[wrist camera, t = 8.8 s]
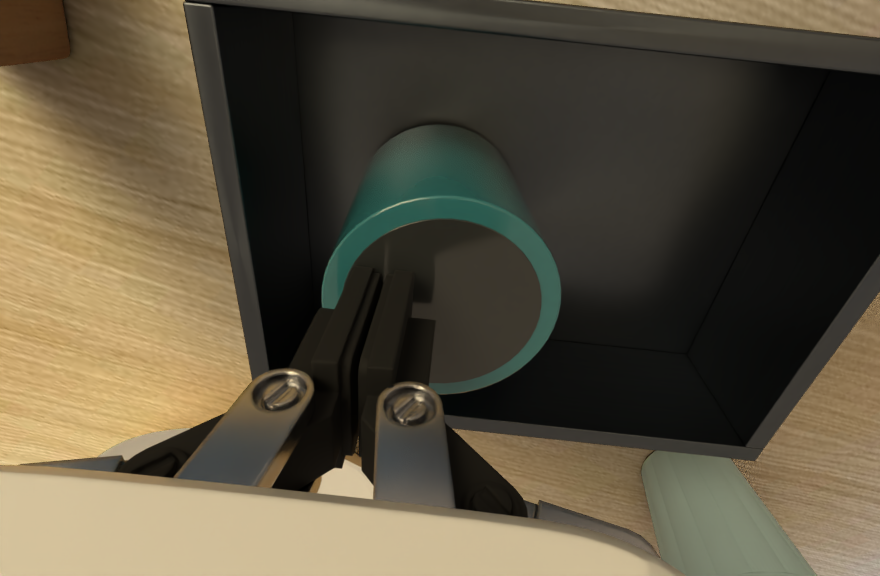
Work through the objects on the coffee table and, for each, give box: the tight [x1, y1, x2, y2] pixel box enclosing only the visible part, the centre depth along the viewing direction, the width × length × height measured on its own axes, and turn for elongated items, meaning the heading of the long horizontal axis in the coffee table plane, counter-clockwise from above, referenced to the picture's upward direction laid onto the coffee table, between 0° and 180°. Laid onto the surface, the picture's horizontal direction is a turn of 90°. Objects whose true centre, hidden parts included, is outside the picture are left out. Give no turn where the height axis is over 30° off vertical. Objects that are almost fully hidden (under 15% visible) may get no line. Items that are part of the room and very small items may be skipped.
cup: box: [641, 450, 817, 576], centre depth 25 cm, size 8×8×10 cm
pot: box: [321, 124, 561, 394], centre depth 16 cm, size 7×7×8 cm
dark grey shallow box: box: [183, 0, 880, 461], centre depth 18 cm, size 16×22×7 cm
